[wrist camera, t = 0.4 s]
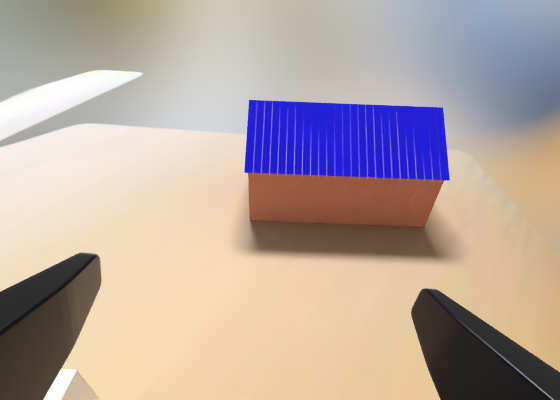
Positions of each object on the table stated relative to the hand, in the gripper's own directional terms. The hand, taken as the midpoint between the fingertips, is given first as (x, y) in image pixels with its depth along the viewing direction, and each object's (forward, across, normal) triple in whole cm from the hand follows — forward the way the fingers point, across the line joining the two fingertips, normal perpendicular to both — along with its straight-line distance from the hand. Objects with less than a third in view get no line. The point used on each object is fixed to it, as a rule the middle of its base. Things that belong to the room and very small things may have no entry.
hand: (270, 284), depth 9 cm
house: (+28, -11, +9) cm, 31 cm away
